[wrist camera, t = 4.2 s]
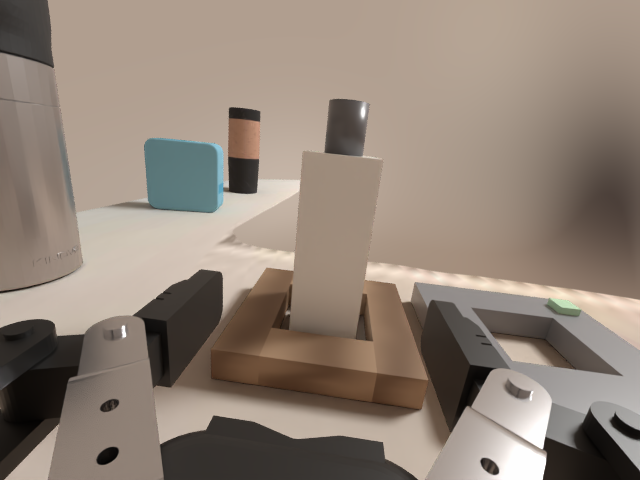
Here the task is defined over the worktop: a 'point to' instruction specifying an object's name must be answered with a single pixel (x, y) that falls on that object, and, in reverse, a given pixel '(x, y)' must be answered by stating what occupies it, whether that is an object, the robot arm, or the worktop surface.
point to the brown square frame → (322, 348)
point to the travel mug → (243, 150)
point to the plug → (334, 226)
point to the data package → (184, 175)
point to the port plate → (561, 332)
